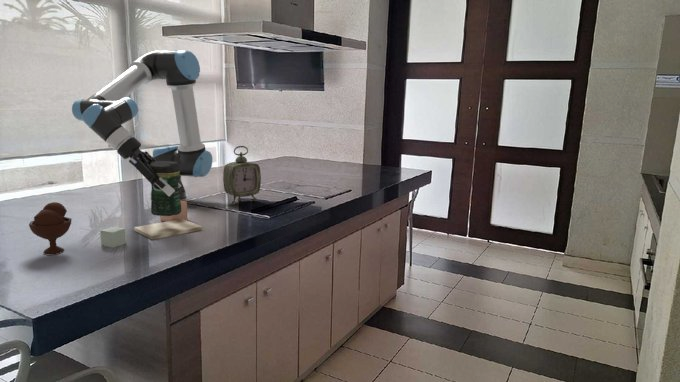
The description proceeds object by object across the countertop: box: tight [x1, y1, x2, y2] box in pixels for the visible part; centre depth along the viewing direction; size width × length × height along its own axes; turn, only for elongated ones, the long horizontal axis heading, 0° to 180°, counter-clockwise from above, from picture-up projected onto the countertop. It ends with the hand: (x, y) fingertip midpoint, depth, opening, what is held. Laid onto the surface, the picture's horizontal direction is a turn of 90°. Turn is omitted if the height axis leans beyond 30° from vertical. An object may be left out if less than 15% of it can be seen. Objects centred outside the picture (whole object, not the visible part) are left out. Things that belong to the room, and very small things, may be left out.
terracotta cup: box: [159, 199, 189, 222], centre depth 185 cm, size 7×7×7 cm
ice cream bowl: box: [28, 201, 72, 255], centre depth 145 cm, size 11×11×15 cm
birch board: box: [133, 219, 203, 241], centre depth 171 cm, size 18×14×1 cm
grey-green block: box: [99, 226, 127, 248], centre depth 154 cm, size 5×5×5 cm
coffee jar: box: [150, 161, 181, 217], centre depth 168 cm, size 10×8×19 cm
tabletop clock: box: [222, 145, 262, 206], centre depth 214 cm, size 14×9×25 cm, turn 131°
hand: (175, 191), depth 169 cm, fingers closed on coffee jar, 8 cm apart
